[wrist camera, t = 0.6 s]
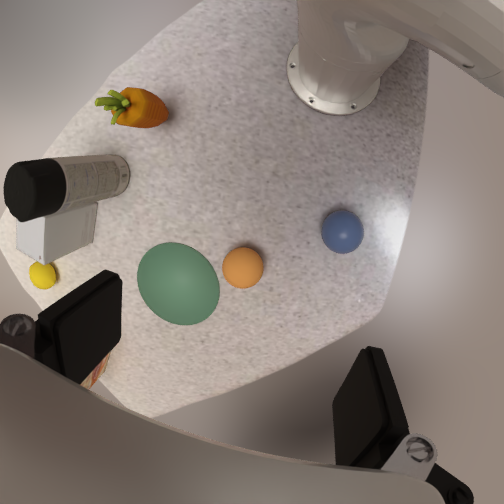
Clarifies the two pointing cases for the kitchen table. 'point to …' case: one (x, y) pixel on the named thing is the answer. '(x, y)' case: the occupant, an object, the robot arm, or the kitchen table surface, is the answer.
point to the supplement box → (56, 233)
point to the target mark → (178, 283)
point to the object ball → (242, 267)
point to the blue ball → (342, 232)
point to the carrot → (134, 108)
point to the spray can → (62, 184)
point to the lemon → (42, 275)
